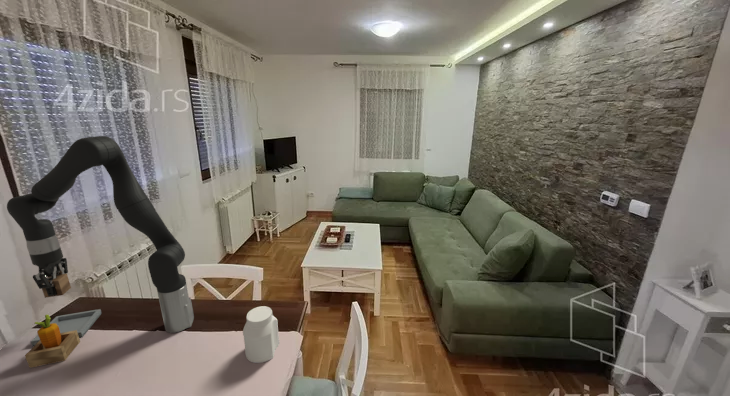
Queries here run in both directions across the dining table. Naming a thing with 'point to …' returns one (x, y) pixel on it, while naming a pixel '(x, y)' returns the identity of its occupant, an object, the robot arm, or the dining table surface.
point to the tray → (74, 323)
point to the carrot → (49, 333)
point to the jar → (260, 335)
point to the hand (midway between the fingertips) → (57, 290)
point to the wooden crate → (53, 350)
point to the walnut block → (59, 285)
